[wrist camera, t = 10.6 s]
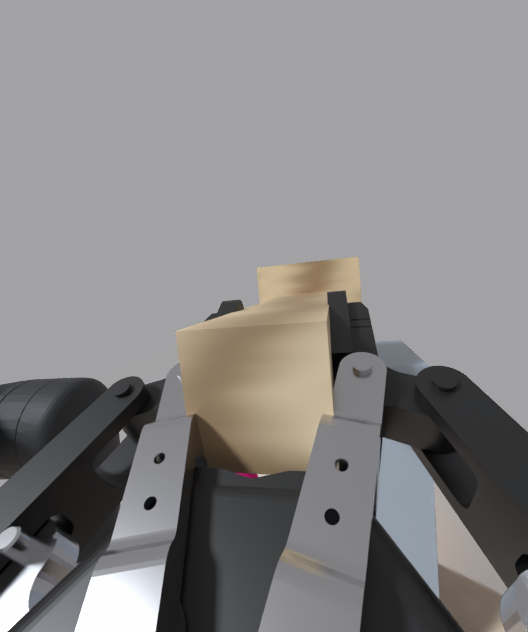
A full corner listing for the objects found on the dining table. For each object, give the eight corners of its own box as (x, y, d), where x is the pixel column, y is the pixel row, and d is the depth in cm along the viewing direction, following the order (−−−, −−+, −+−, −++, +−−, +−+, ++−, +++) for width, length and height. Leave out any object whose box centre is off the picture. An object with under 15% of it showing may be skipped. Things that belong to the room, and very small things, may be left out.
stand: (299, 661, 33) (269, 358, 30) (307, 567, 44) (285, 337, 40) (443, 686, 30) (427, 351, 27) (414, 579, 41) (400, 330, 37)
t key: (118, 467, 8) (84, 242, 8) (276, 328, 32) (271, 270, 31) (445, 482, 7) (433, 189, 6) (357, 323, 30) (353, 261, 29)
